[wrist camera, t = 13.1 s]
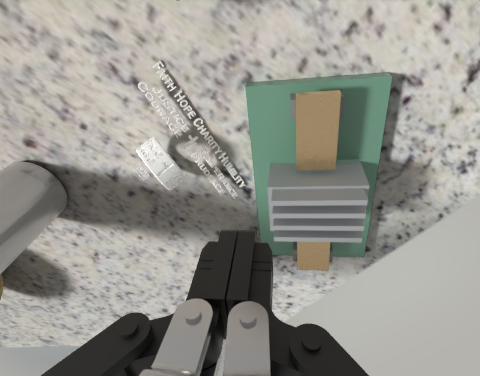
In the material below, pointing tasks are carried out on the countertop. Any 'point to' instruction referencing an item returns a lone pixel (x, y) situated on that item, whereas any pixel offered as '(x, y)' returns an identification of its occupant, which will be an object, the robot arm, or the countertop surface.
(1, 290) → the cantaloupe
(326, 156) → the wooden block
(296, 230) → the board
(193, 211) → the countertop surface
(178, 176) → the wide band ring
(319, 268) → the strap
